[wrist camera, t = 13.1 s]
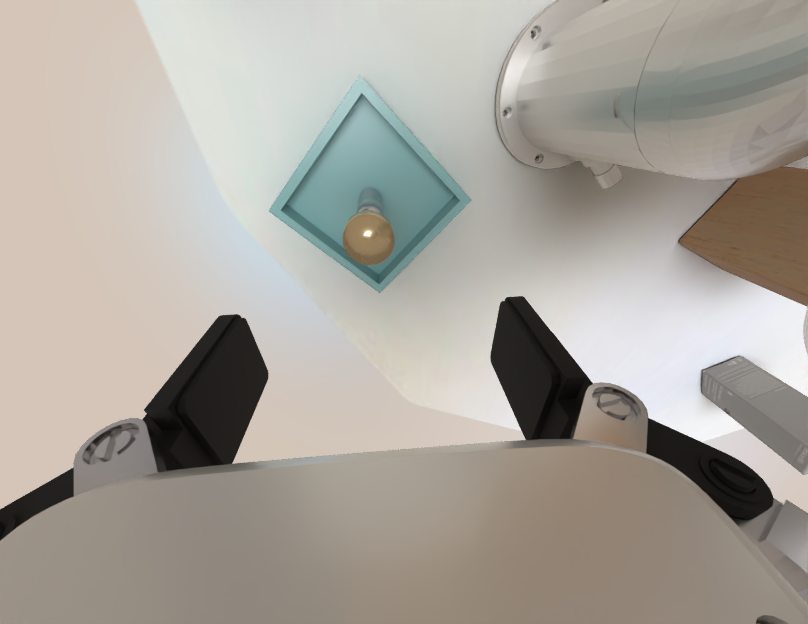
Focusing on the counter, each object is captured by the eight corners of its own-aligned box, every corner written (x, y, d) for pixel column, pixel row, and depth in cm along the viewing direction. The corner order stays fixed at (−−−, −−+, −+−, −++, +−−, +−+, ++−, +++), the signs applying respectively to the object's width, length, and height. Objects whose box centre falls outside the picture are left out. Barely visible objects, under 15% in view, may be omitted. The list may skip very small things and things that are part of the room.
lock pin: (394, 198, 30) (405, 239, 20) (372, 224, 32) (372, 274, 21) (367, 173, 29) (364, 203, 19) (345, 201, 30) (331, 243, 20)
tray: (463, 193, 31) (471, 200, 29) (379, 280, 36) (379, 293, 34) (361, 79, 25) (359, 74, 23) (277, 203, 30) (268, 211, 28)
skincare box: (700, 369, 51) (811, 455, 38) (745, 351, 50) (877, 435, 37) (699, 394, 56) (799, 479, 43) (741, 379, 54) (857, 462, 41)
